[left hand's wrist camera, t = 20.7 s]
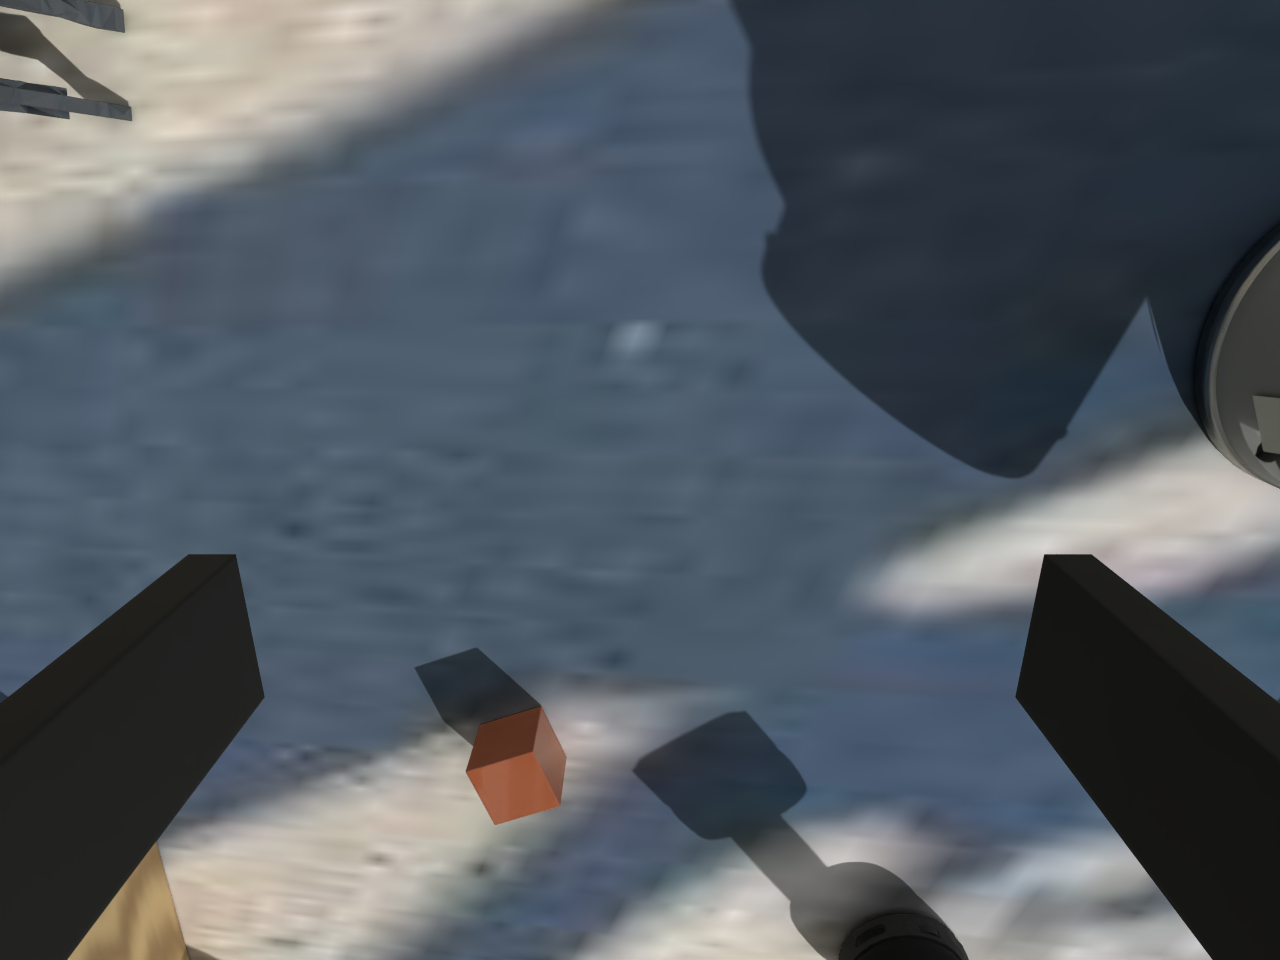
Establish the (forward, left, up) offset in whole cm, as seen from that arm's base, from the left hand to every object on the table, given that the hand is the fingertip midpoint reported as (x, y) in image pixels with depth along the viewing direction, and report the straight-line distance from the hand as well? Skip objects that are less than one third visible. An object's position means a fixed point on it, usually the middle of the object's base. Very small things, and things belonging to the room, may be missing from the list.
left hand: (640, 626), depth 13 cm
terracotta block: (+7, +24, -27) cm, 37 cm away
